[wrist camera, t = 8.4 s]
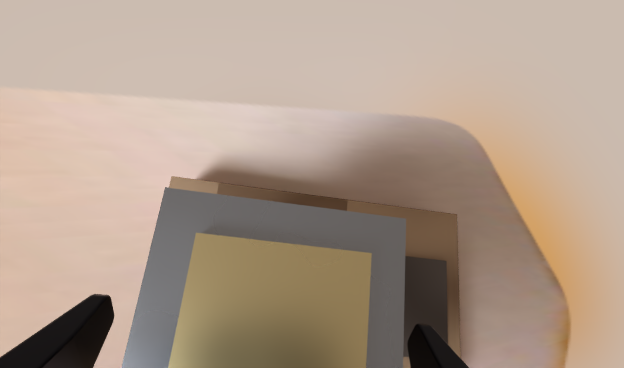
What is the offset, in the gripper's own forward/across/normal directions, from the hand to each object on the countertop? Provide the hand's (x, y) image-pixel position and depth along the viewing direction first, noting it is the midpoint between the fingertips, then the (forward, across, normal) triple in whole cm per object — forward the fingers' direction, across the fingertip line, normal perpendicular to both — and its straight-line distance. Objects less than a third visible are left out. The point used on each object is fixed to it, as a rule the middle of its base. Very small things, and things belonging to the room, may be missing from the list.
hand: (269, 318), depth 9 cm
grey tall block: (+6, 0, +5) cm, 8 cm away
